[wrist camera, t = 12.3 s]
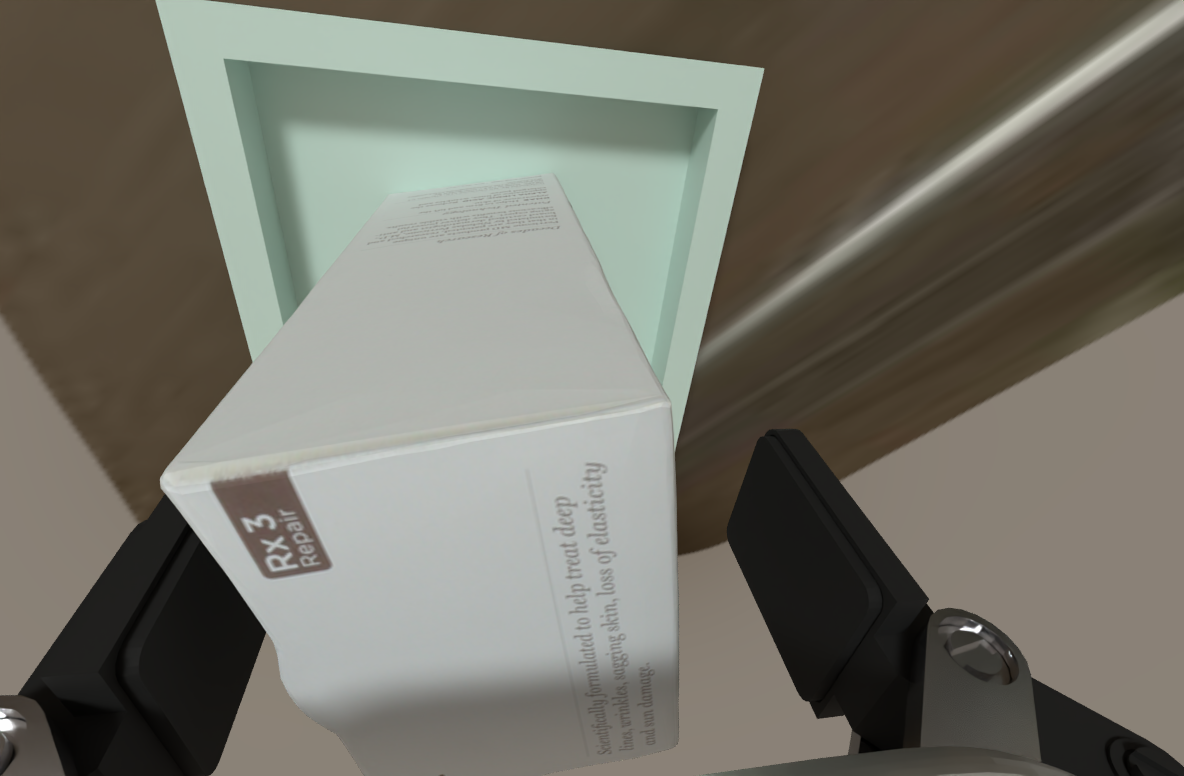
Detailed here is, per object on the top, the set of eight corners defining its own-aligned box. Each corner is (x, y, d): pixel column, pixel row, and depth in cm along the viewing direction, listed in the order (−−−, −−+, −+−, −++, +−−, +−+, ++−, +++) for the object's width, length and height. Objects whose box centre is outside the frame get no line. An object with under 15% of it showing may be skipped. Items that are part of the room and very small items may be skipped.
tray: (731, 65, 18) (764, 68, 16) (654, 439, 27) (669, 472, 25) (198, 0, 15) (153, -6, 13) (303, 450, 23) (287, 490, 21)
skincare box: (578, 367, 23) (699, 757, 10) (434, 392, 22) (381, 836, 10) (552, 155, 18) (718, 406, 6) (368, 179, 17) (108, 519, 5)
